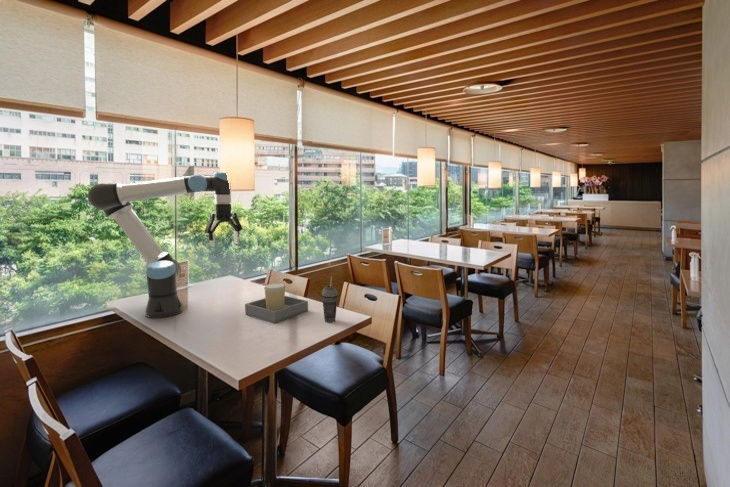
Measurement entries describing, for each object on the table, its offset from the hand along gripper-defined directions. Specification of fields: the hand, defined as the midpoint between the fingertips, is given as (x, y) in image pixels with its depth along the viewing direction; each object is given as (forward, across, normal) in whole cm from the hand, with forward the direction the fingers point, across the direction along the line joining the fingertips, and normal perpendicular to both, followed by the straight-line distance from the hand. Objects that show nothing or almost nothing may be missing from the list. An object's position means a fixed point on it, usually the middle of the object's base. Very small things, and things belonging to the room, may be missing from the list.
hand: (225, 245), depth 192 cm
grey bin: (+28, 0, +38) cm, 47 cm away
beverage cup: (+28, -6, +65) cm, 71 cm away
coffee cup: (+28, 0, +37) cm, 46 cm away
